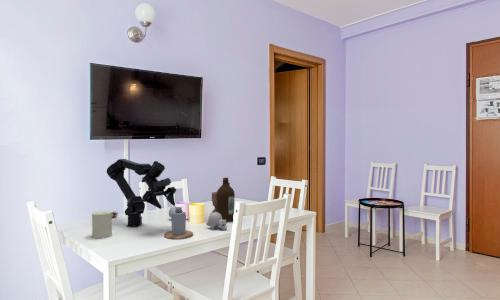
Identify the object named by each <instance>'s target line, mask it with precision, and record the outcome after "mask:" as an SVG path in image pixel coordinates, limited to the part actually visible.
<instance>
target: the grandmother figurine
mask: <svg viewBox="0 0 500 300" xmlns="http://www.w3.org/2000/svg"><path fill="white" fill-rule="evenodd" d="M118 214H119V211H118V210H113V211H112V218H114V217H118Z"/></svg>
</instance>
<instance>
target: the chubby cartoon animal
mask: <svg viewBox="0 0 500 300" xmlns="http://www.w3.org/2000/svg"><path fill="white" fill-rule="evenodd" d="M205 225H206V226H207V227H210V229H212V230H215V229H218V228H221V230H223V231H226V230H227V228H228V225H227V222H226V220H222V216H221V214H220V213H218V212H213V213H212V212H211V213H210V214H209V216H208V220H207V221H206V223H205Z"/></svg>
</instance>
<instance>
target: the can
mask: <svg viewBox="0 0 500 300" xmlns="http://www.w3.org/2000/svg"><path fill="white" fill-rule="evenodd" d="M112 212H113V211H111V210H98V211H93V212H92V213H91V231H92V233H91V237H92V238H93V239H105V238H110V237H112V236H113V226H112V225H113V217H112Z"/></svg>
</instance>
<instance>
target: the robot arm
mask: <svg viewBox="0 0 500 300" xmlns="http://www.w3.org/2000/svg"><path fill="white" fill-rule="evenodd" d="M126 169H128V170H131V171H133V172H134V173H135V174H137V175H138V176H142V179H141V182H142V183H145V184H146V185H147V186H148V188H147V190H146V191H145V192H144V194H143V195H142V196H141V195H139V196H137V195H136V194H135V192H134V191H133V189H132V187H131V186H130V184H129V182H128V181H127V179H126V177H125V171H126ZM165 170H166V168H165V165H164V164H162V163H161V162H159V161H157V160H154V161H153V163H152V165H151V163H139V162H135V161H132V160H129V159H126V158H120V159H117V160H116V161H115V162H114V163H111V164H110V165H109V166H108V167H107V168H106V174H107V176H108V177H109V178H110V179H111V180H113V181H115V182H116V184H117V186H118V188H119V189H120V190H121V192H122V195H123V196H124V198H125V199H126V200H127V202H126V206H127V207H126V209H125V210H124V214H125V216H127V225H126V227H130V228H131V227H133V228H134V227H135V228H138V227H140V226H141V225H143V217H142V214H144V212H145V207H146V204H145V203H147V204H151V205H152V206H154V207H156V208H157V209H159V210H162V205H161V203H160V201H159V200H158V199H157V198H158V197H159V196H164V197H165V200H167V202H168V203H170V204H171V205H172V207H173V206H176V201H175V196H174V195H175V193H176V192H177V189H176V187H175V186H170V185H171V183H172V180H171V179H170V177H166V178H164V179H160V180H158V179H157V178H159V177H160V176H161V175H162V174H163V172H164V171H165ZM167 186H170V187H167Z"/></svg>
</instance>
